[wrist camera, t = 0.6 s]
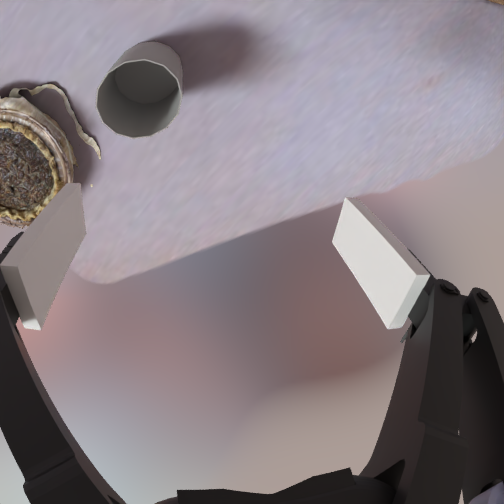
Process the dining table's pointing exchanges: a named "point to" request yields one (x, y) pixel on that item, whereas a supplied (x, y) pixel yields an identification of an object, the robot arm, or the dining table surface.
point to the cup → (141, 91)
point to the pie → (32, 157)
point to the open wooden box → (498, 1)
